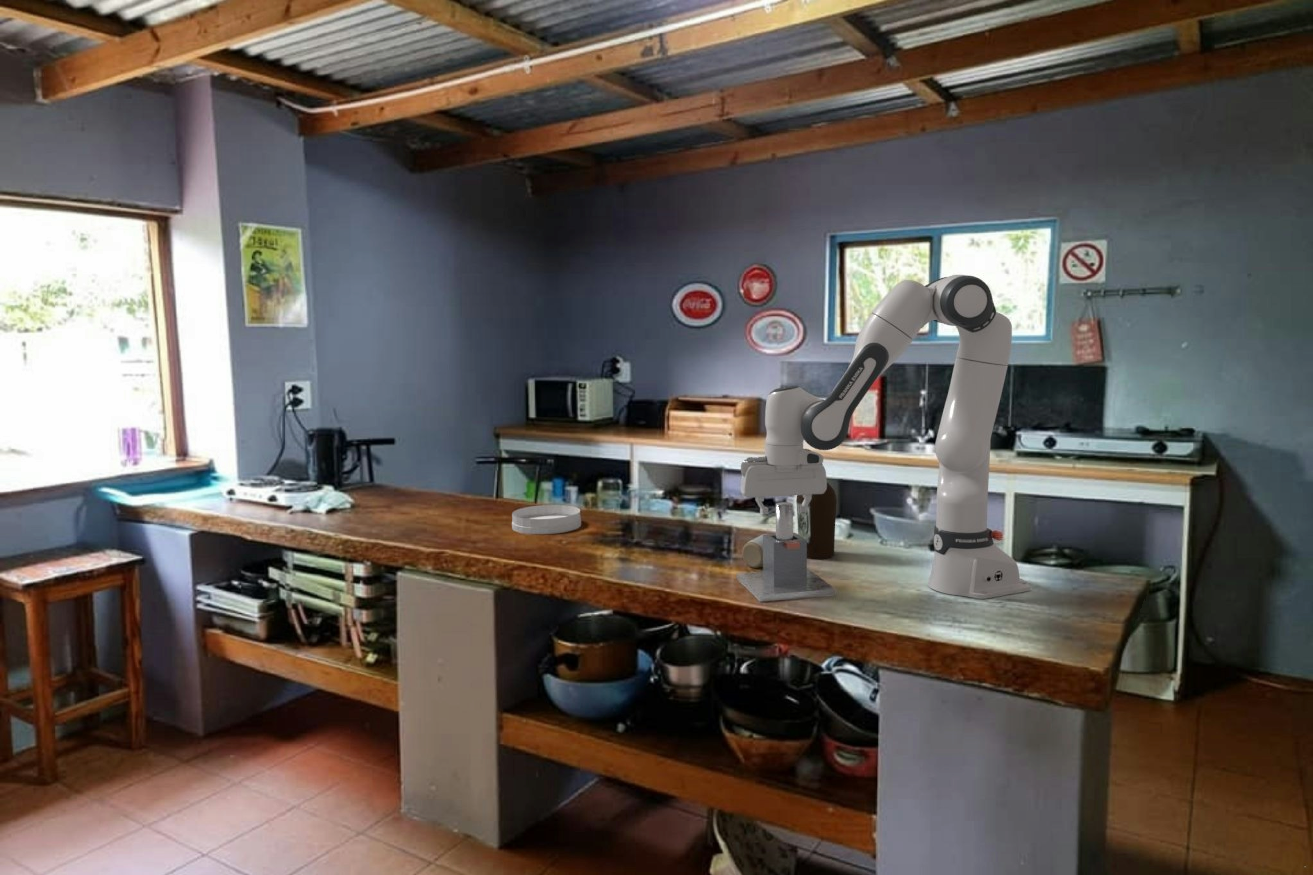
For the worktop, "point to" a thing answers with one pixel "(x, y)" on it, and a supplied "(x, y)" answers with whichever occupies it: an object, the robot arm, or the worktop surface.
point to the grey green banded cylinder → (784, 521)
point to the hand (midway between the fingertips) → (783, 514)
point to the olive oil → (818, 524)
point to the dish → (546, 519)
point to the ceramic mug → (754, 552)
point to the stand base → (785, 572)
